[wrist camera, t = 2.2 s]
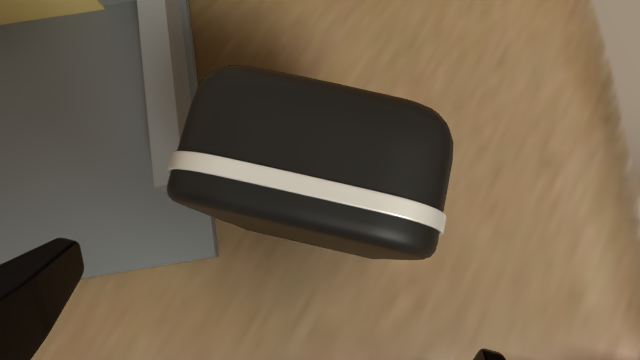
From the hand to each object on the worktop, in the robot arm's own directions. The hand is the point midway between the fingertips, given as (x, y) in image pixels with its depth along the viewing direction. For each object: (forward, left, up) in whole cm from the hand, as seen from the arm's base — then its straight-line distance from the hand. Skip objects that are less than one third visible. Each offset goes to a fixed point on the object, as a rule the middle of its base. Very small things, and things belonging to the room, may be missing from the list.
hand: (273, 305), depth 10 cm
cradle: (+4, +14, -10) cm, 18 cm away
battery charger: (+4, 0, -11) cm, 11 cm away
